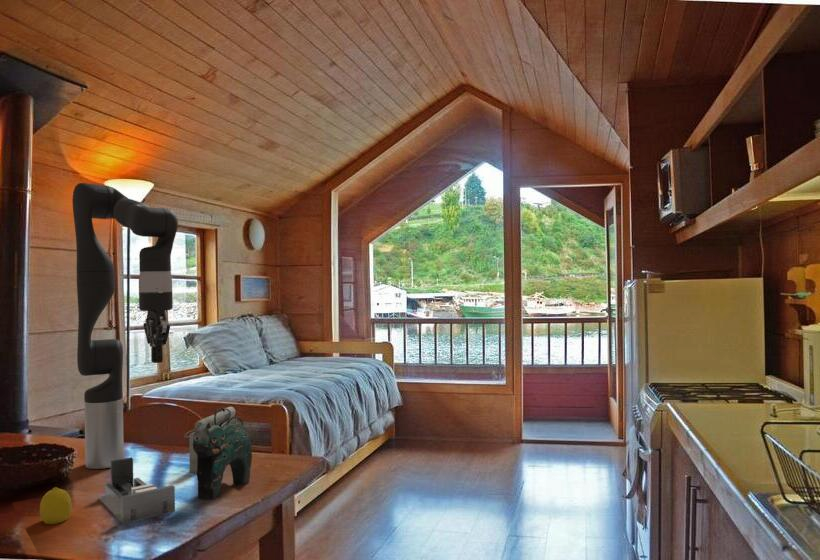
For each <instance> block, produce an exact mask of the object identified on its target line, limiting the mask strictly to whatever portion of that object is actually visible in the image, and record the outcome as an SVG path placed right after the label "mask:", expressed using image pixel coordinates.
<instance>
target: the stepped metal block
mask: <svg viewBox="0 0 820 560" xmlns="http://www.w3.org/2000/svg"><path fill="white" fill-rule="evenodd" d="M110 463H111V467H110V484H111V485H112V486H113V487H114V488H115V489H117V490H118V491H119V492H120V493H121V494H122V495H123V496H124V495H129V494H131V488H133V487H134V459H133V457H126V458H125V457H124V459H119V460H114V461H110Z"/></svg>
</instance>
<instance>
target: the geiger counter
mask: <svg viewBox="0 0 820 560" xmlns="http://www.w3.org/2000/svg"><path fill="white" fill-rule="evenodd" d="M224 409H225V412H223V410H222V409H221V411H219V412H217V414H216V425H217V424H219V423H221V422H224V423H226V422H227V421H228V420H229V419H230V418H232V417H236V412H237V411H236V409H235V407H234V406H228V407H224ZM208 423H210V425H212V426H213V425H215V423H214V414H212V415H210V416H206V417H205V418H203V419H200V420H198V421H196V422H195V423H194V428H193V429H191V430H188V431H187V432H185V433H184V435H183V438H185V439H188V438H189V440H188V441H189V443H188V444H189V446H188V447H189V473H197V454H196V452H195V451H194V449H193V437H194V433H195V431H196V430H197V429H198V428H199V427H200V426H202V425H207V424H208ZM224 423H223V424H224ZM229 423H238V419H232V420H231V421H230V422H229Z"/></svg>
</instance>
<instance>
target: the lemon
mask: <svg viewBox="0 0 820 560" xmlns="http://www.w3.org/2000/svg"><path fill="white" fill-rule="evenodd" d="M39 504H40V505H39V516H40V519H41V521H42V522H43V523H44V524H45V525H56V524H60V523H64V522H65V521H67V520H68V518H69V517H70V515H71V514H72V513H71V512H72V506H73V505H72V504H73V503H72V499H71V497H70V494H69V493H68V492H67V491H66V490H65V489H62V488H58V487H56V486H55V487H53V488H52V489H50V490H48V491H47V492H46V493H45V494H44V495H43V496H42V498H41V500H40V503H39Z"/></svg>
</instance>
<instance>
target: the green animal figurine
mask: <svg viewBox="0 0 820 560" xmlns="http://www.w3.org/2000/svg"><path fill="white" fill-rule="evenodd" d="M220 410H221V411H222V410H223V412H225V407H223V406H221V407H217V408H216V410H215V411H214V413H213V415H214V423H215V425H213V426H212V425H210V423H208V424H207V425H202V426H200V427H199V428H198V429H197V430H195V431H194V432H195V433H194V432H193V433H194V437H193V449H194V451H195V452H196V454H197V472H196V477H197V478H196V479H197V497H198V499H200V500H212V501H213V500H215V499H216V498H218V497H220V495H221V487H222V481H223V477H224V472H225V470H226V468H227V467H228V465H229V466H230V470H231V473H232V474H231V476H232V484H233V485H241V486H242V485H246V484H248V483H249V482H250V477H251V467H252V458H253V449H252V446H253V445H252V441H251V438H250V433H249V432H248V429H247V427H246V426H244V421H243V418H241V417H240V416H234V417H232V418H230V419H229V420H228V421H227V422H226V423H224V422H221V423H219V424H217V425H216V414H217V413H219V412H218V411H220ZM232 419H237V420H239V421H240V423H238V422H237V423H229V422H230V421H231V420H232ZM223 423H224V424H223Z"/></svg>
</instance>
